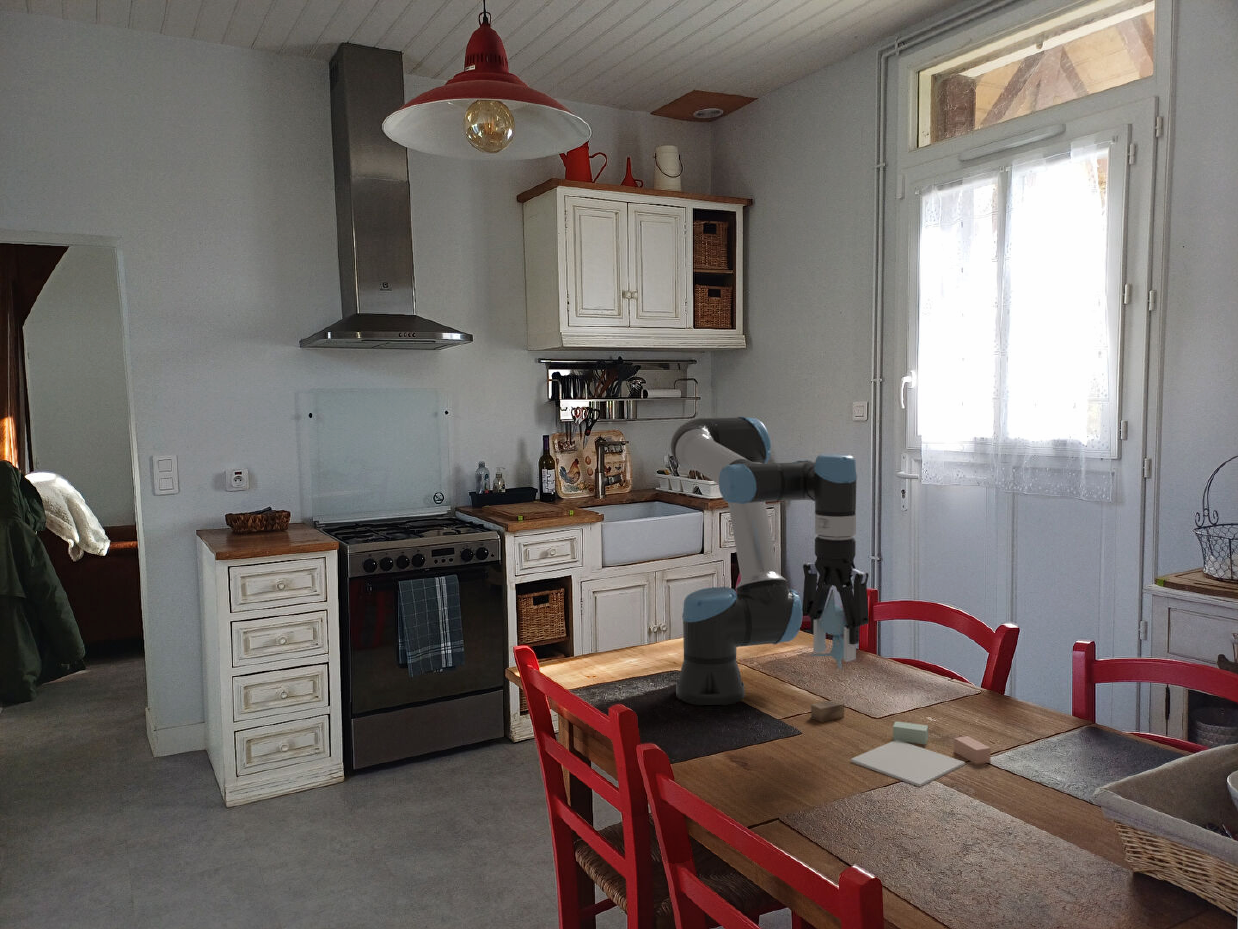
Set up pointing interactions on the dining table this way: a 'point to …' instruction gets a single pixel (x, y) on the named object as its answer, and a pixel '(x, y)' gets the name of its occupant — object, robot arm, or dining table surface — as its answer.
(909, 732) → the brick
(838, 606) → the toy
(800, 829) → the dining table surface
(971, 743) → the brick
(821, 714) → the brick
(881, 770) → the tile
